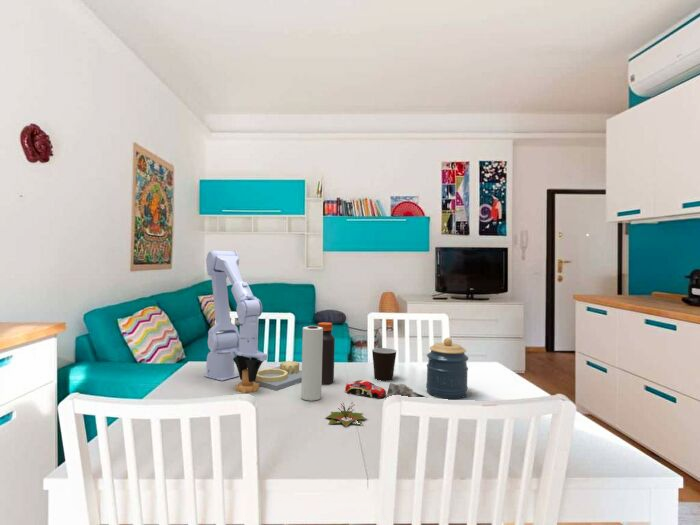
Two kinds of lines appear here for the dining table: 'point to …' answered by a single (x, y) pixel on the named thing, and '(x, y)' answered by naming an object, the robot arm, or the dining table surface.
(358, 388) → the race car
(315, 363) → the paper towel roll
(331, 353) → the bottle
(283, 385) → the carrier plate
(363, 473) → the dining table surface
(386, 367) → the coffee mug
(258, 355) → the robot arm
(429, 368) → the canister
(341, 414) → the lily flower
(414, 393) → the camouflage cap
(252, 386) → the planet gear
